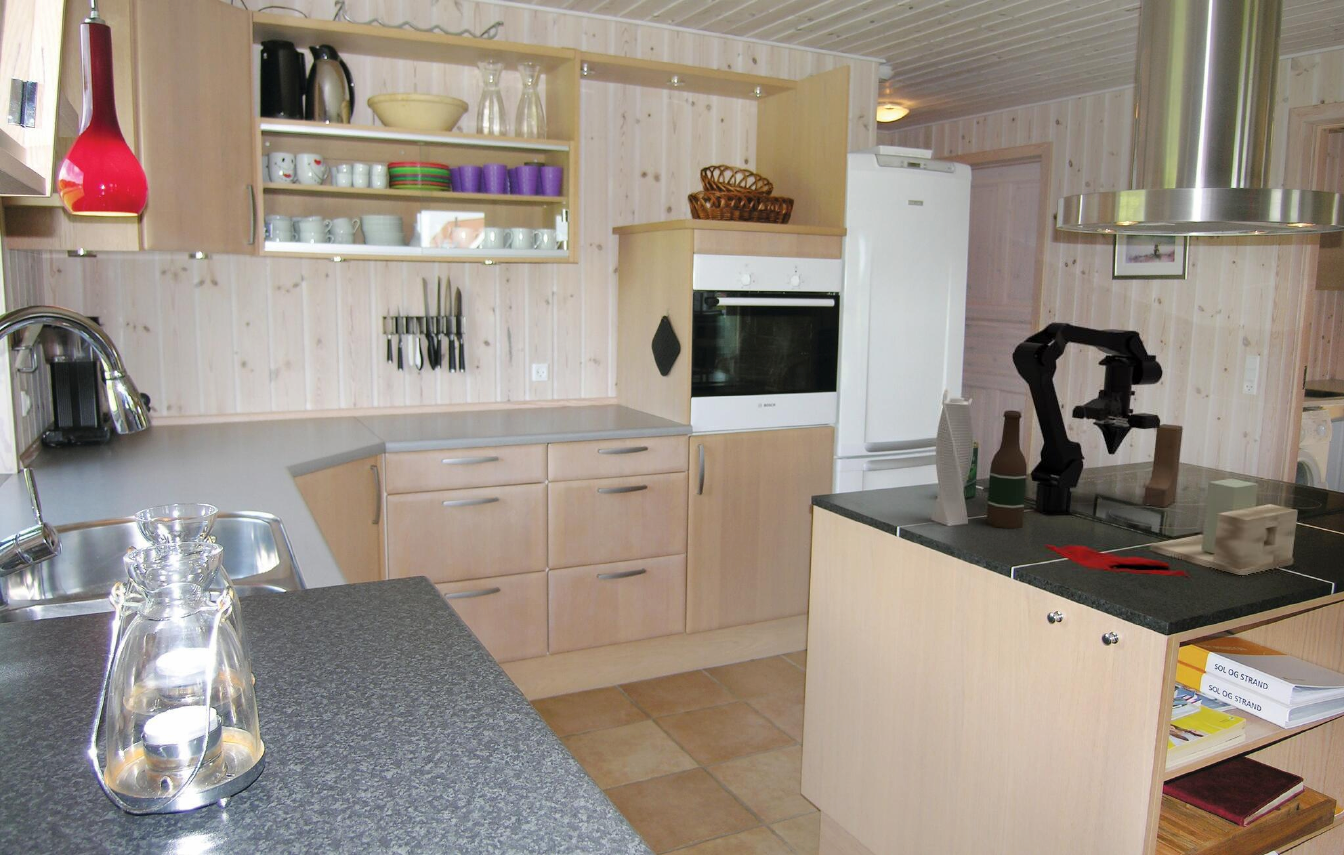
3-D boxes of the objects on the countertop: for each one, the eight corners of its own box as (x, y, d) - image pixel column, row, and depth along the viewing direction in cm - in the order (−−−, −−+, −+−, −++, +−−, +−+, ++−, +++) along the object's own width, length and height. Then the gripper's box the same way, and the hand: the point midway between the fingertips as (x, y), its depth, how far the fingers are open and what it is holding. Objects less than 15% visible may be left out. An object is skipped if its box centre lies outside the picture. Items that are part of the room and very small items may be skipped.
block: (1201, 549, 178) (1208, 482, 176) (1223, 545, 182) (1231, 478, 180) (1249, 562, 171) (1258, 492, 168) (1272, 557, 174) (1280, 488, 172)
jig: (1149, 550, 183) (1155, 498, 181) (1200, 540, 190) (1206, 490, 189) (1241, 576, 168) (1248, 520, 166) (1292, 564, 175) (1299, 510, 174)
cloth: (1024, 552, 182) (1025, 541, 182) (1068, 542, 190) (1069, 531, 189) (1155, 591, 161) (1157, 578, 161) (1199, 578, 168) (1201, 566, 168)
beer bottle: (1030, 524, 201) (1039, 411, 197) (1014, 531, 195) (1023, 415, 191) (994, 517, 206) (1002, 407, 202) (978, 523, 201) (986, 411, 197)
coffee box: (952, 501, 220) (956, 445, 218) (943, 499, 222) (946, 443, 220) (976, 497, 224) (980, 442, 222) (966, 495, 227) (970, 440, 224)
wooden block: (1164, 508, 217) (1172, 430, 214) (1143, 504, 220) (1150, 427, 217) (1175, 501, 223) (1183, 425, 220) (1154, 498, 226) (1162, 423, 223)
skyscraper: (922, 518, 204) (930, 388, 200) (950, 515, 207) (959, 387, 202) (947, 527, 197) (955, 393, 192) (975, 524, 200) (984, 392, 195)
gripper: (1058, 382, 218) (1053, 449, 221) (1132, 392, 202) (1125, 464, 204) (1091, 380, 223) (1085, 446, 226) (1165, 390, 207) (1157, 460, 210)
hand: (1111, 454), depth 216 cm, fingers closed
